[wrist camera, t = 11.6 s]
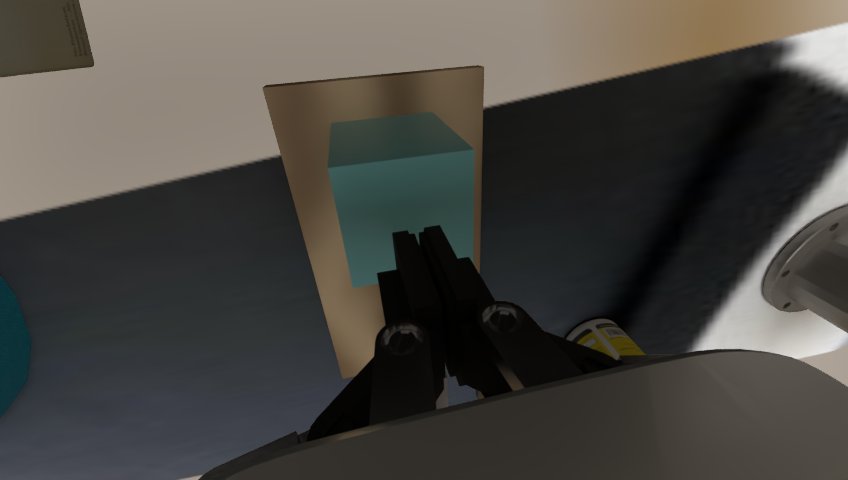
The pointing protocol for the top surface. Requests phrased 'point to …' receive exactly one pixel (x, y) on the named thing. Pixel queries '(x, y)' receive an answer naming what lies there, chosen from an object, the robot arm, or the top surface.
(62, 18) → the skincare box
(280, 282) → the top surface
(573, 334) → the pill bottle
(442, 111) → the post board
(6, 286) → the teal round ring
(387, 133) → the teal rectangular block
